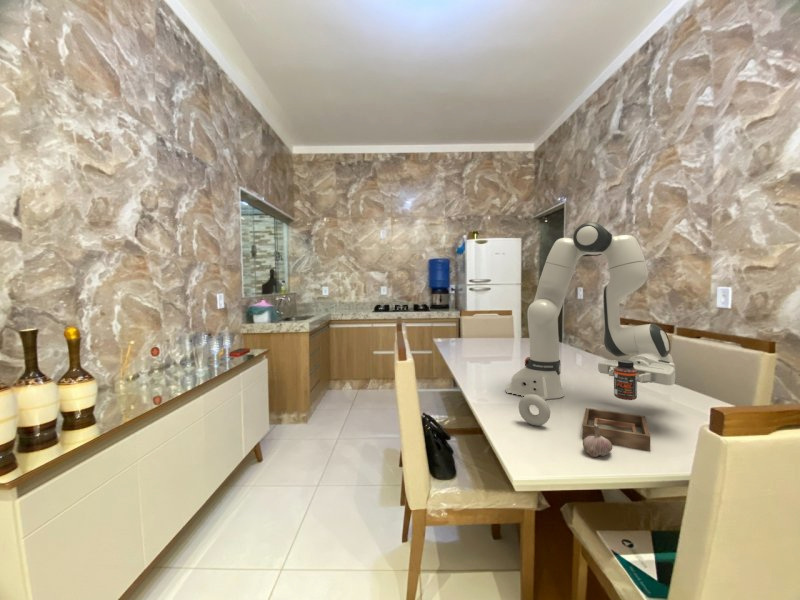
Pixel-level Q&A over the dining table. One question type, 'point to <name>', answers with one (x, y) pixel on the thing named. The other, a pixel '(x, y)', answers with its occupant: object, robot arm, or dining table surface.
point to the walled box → (618, 428)
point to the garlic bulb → (597, 444)
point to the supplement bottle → (625, 380)
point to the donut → (540, 404)
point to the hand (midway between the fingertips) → (624, 375)
